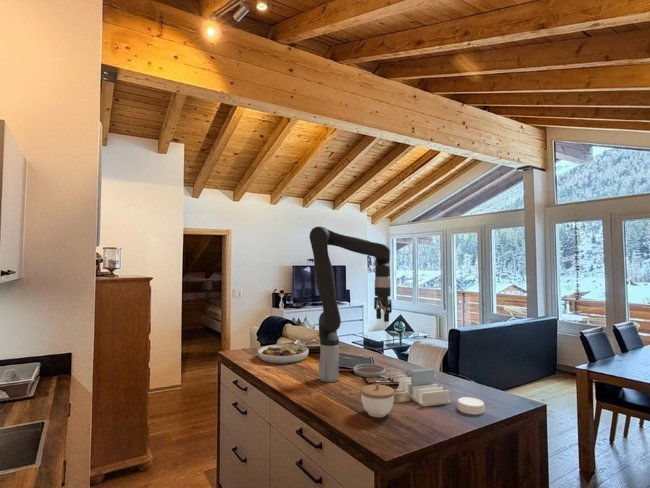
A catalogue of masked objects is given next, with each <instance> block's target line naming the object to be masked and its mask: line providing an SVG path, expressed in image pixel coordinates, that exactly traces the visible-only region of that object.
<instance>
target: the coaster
mask: <svg viewBox="0 0 650 488" xmlns="http://www.w3.org/2000/svg"><path fill="white" fill-rule="evenodd" d="M456 402H457V404H456V405H457V410H458V411H460V412H462V413H463V414H467V415H473V416H474V415H482V414H484V413H485V403H484V401H483V400H481V399H478V398H477V397H476V398H475V397H469V396H464V397H460V398H458V399H457V401H456Z"/></svg>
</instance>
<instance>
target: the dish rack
mask: <svg viewBox="0 0 650 488" xmlns="http://www.w3.org/2000/svg"><path fill="white" fill-rule="evenodd" d="M397 389H403V392H408V397H410V398H411V400H413V401H414V402H416V403H417V404H419V405H420V406H421V407H429V406H431V407H432V406H438V405H444V404H451V402H452V401H451V400H450V390H448V389H444V386H439V384H437V383H434V384H431V385H422V386H413V387H412V394H411V376H409V377H408V376H407V377H399V378H398V386H397Z"/></svg>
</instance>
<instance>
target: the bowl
mask: <svg viewBox="0 0 650 488" xmlns="http://www.w3.org/2000/svg"><path fill="white" fill-rule="evenodd" d="M308 355H309V348H308V347H306V346H304V345H300V344H287V343H285V344H273V345H266V346H263V347H261V348H259V349H257V356H258V357H259V359H260V360H262V361H263V362H266V363H271V364H276V365H277V364H280V365H281V364H282V365H283V364H294V363H298V362H300V361H303V360H305V359H306V358H307V357H308Z"/></svg>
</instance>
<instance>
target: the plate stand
mask: <svg viewBox="0 0 650 488" xmlns="http://www.w3.org/2000/svg"><path fill="white" fill-rule="evenodd" d="M393 390H394V400H393V404H394V403H395V404H396V403H397V404H398V403H405V402H411V401H412V399H411V398H410V397H408V392H403V389H398V388H397V389H393Z"/></svg>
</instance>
